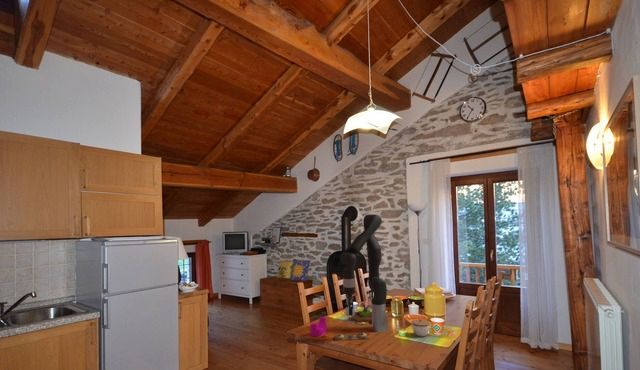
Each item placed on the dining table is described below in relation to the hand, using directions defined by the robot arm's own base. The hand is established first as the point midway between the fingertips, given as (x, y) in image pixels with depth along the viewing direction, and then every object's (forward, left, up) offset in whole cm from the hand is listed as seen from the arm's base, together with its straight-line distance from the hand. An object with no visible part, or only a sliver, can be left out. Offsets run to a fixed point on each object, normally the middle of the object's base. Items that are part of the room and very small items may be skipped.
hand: (350, 313), depth 217 cm
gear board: (0, 0, -15) cm, 15 cm away
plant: (-16, -36, -16) cm, 43 cm away
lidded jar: (-44, 0, -16) cm, 47 cm away
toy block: (+17, -14, -16) cm, 27 cm away
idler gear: (0, 0, -1) cm, 1 cm away
